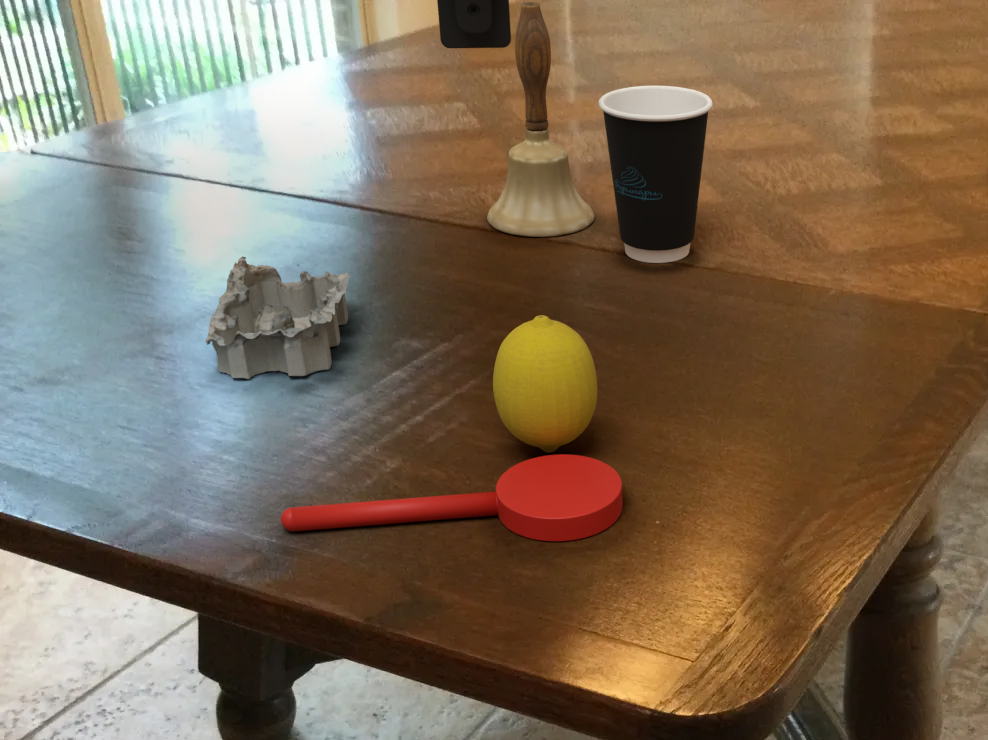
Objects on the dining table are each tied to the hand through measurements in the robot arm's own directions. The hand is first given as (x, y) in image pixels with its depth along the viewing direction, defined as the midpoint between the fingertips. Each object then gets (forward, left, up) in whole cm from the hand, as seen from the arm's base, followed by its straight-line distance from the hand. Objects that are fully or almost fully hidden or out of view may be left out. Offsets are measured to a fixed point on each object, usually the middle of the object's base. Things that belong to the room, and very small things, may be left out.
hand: (474, 22), depth 66 cm
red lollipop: (-3, -11, -21) cm, 24 cm away
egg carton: (-13, +11, -22) cm, 28 cm away
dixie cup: (+12, +24, -22) cm, 34 cm away
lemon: (+2, -5, -22) cm, 22 cm away
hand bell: (+4, +32, -22) cm, 39 cm away
